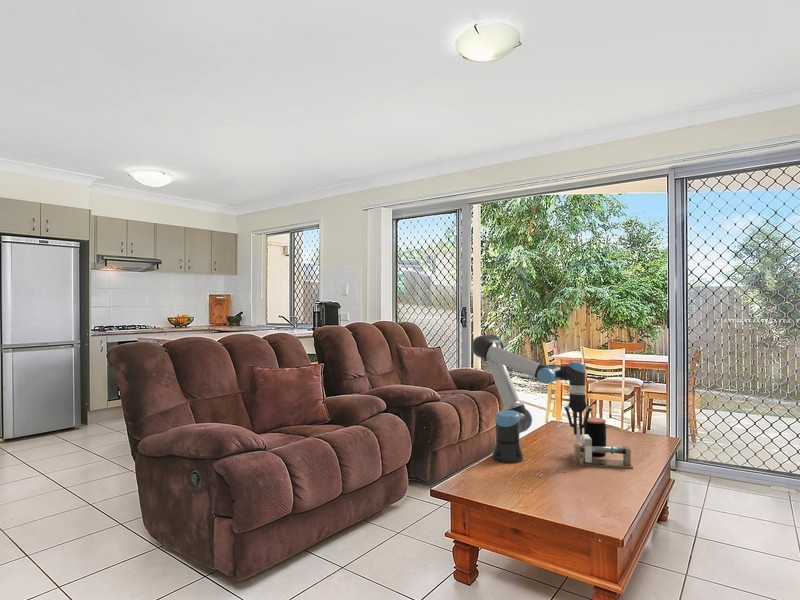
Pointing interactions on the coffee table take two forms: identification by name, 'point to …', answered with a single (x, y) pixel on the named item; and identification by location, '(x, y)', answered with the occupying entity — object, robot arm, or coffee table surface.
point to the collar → (587, 448)
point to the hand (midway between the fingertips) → (578, 441)
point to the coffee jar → (596, 433)
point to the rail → (604, 462)
